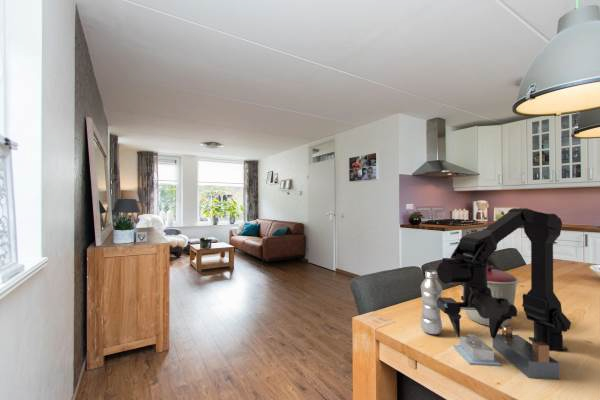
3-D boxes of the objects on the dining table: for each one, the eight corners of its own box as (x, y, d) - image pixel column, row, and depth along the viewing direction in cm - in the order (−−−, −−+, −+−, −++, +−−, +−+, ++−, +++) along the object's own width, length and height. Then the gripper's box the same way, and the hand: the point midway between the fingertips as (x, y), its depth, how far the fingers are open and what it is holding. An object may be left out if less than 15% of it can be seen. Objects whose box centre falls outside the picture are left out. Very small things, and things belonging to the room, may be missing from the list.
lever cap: (459, 347, 79) (459, 332, 79) (478, 347, 79) (478, 333, 79) (472, 361, 72) (472, 345, 72) (494, 362, 72) (494, 346, 72)
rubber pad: (453, 346, 81) (453, 345, 81) (481, 347, 80) (481, 346, 80) (469, 364, 72) (469, 362, 72) (501, 365, 71) (501, 364, 71)
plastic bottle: (435, 327, 93) (435, 269, 93) (446, 337, 86) (446, 274, 86) (416, 327, 93) (416, 269, 93) (426, 337, 86) (426, 274, 86)
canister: (514, 317, 101) (514, 261, 102) (524, 337, 86) (524, 271, 86) (458, 307, 111) (458, 256, 111) (458, 324, 95) (458, 264, 95)
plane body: (492, 346, 80) (491, 319, 80) (517, 347, 80) (516, 320, 80) (528, 377, 66) (528, 344, 66) (559, 379, 66) (559, 346, 66)
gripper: (454, 289, 69) (454, 351, 68) (532, 291, 67) (533, 354, 67) (436, 277, 80) (436, 330, 80) (502, 279, 78) (503, 333, 78)
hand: (475, 337), depth 76 cm, fingers open, 9 cm apart
